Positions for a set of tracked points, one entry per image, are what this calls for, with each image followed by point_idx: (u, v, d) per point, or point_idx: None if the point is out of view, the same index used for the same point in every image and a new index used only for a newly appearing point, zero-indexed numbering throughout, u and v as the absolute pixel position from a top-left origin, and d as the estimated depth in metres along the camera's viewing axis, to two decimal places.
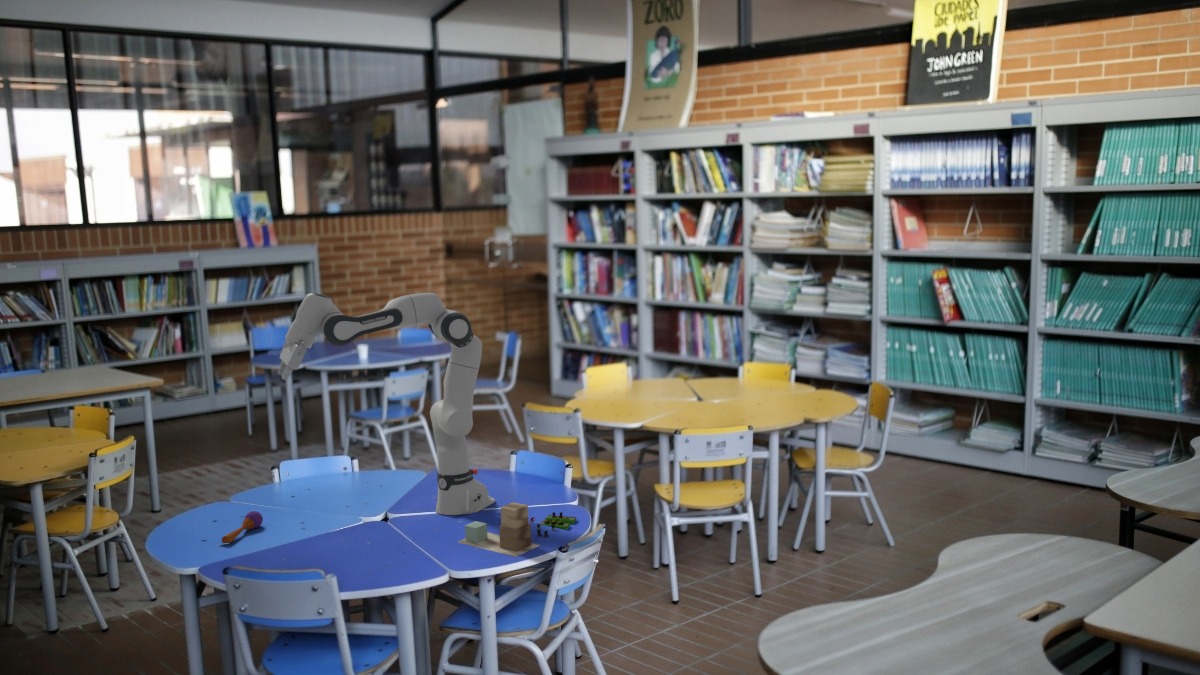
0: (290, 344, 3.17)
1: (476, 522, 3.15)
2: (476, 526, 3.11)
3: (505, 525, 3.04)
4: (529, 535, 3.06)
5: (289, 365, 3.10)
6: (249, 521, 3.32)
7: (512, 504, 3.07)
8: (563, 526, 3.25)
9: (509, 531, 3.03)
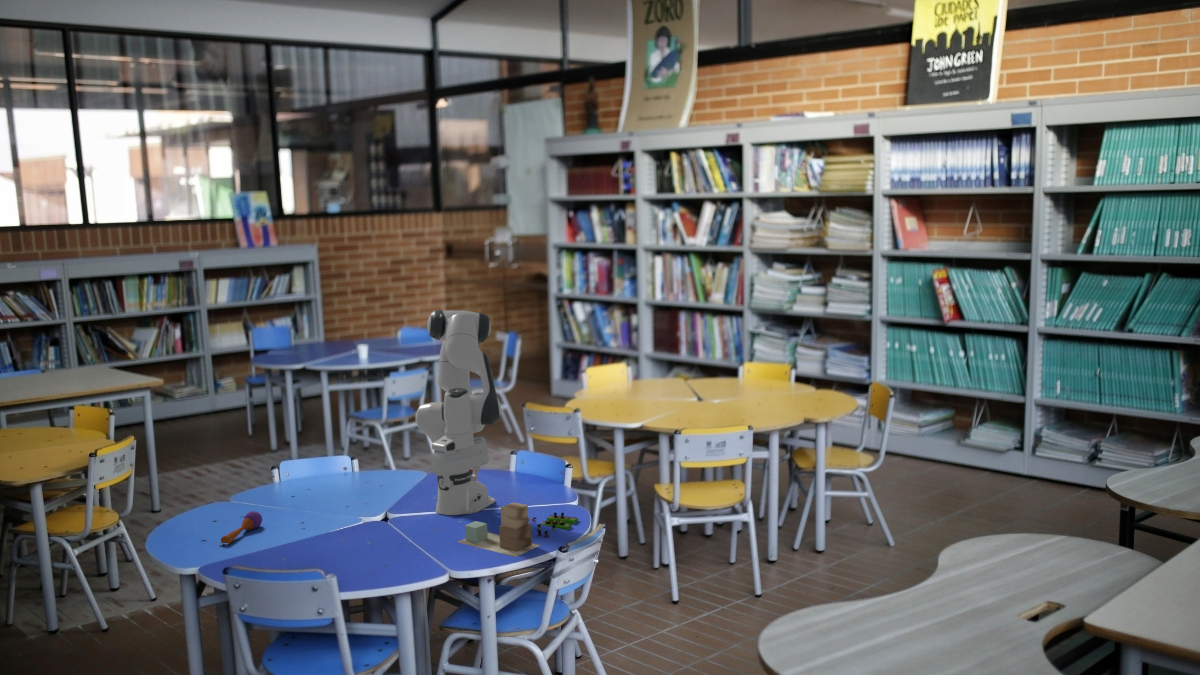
0: (469, 449, 3.07)
1: (476, 522, 3.15)
2: (476, 526, 3.11)
3: (505, 525, 3.04)
4: (529, 535, 3.06)
5: None
6: (248, 521, 3.32)
7: (512, 504, 3.07)
8: (564, 526, 3.24)
9: (509, 531, 3.03)
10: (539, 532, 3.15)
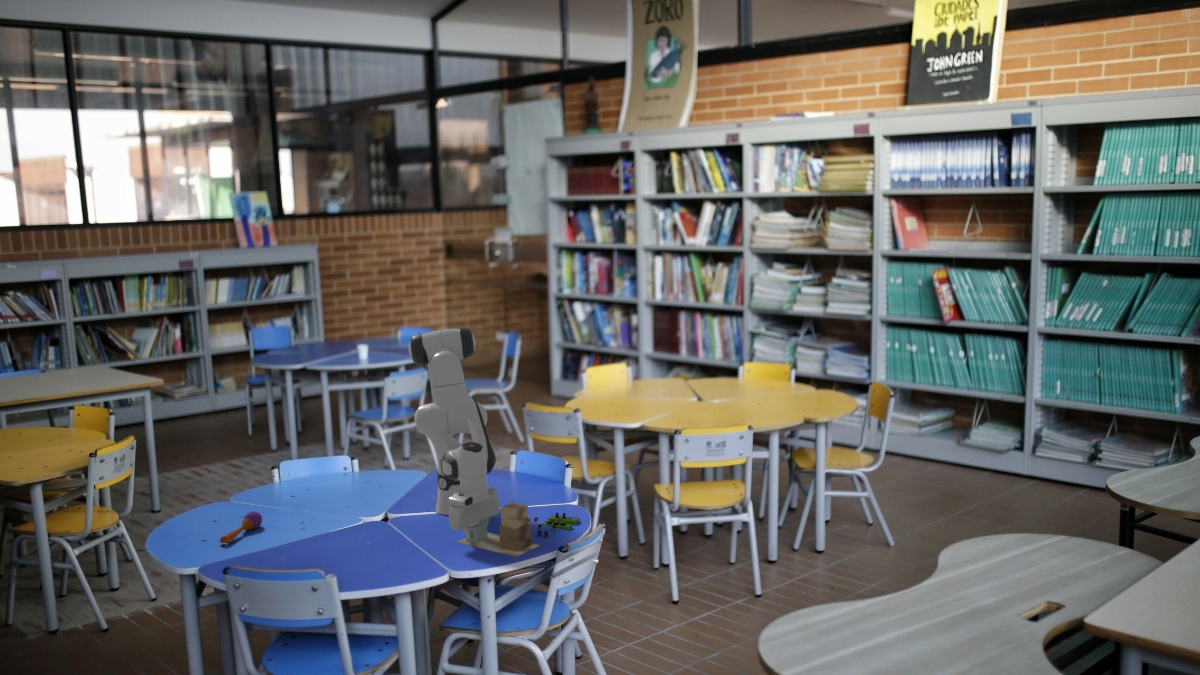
0: (484, 501, 3.13)
1: None
2: (476, 526, 3.11)
3: (505, 525, 3.04)
4: (529, 535, 3.06)
5: None
6: (248, 521, 3.32)
7: (512, 504, 3.07)
8: (565, 527, 3.24)
9: (509, 531, 3.03)
10: (539, 532, 3.15)
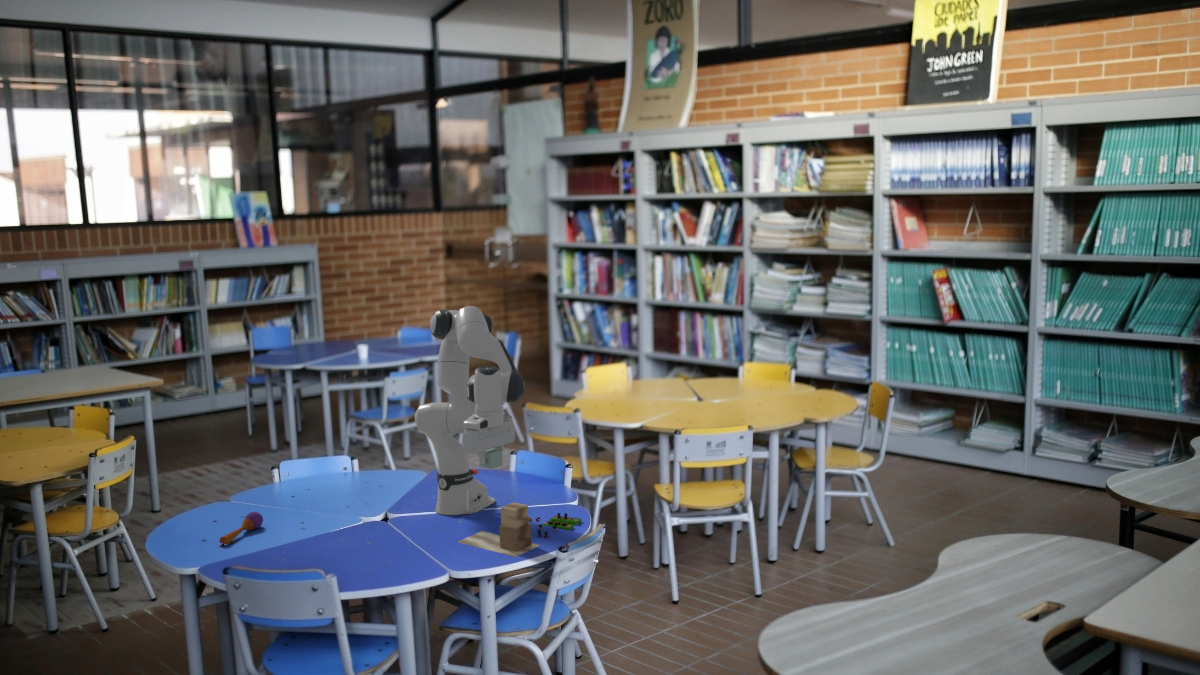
0: (499, 427, 3.06)
1: (491, 449, 3.08)
2: (491, 452, 3.04)
3: (505, 525, 3.04)
4: (529, 535, 3.06)
5: None
6: (248, 522, 3.32)
7: (512, 504, 3.07)
8: (566, 527, 3.24)
9: (509, 531, 3.03)
10: (539, 532, 3.15)
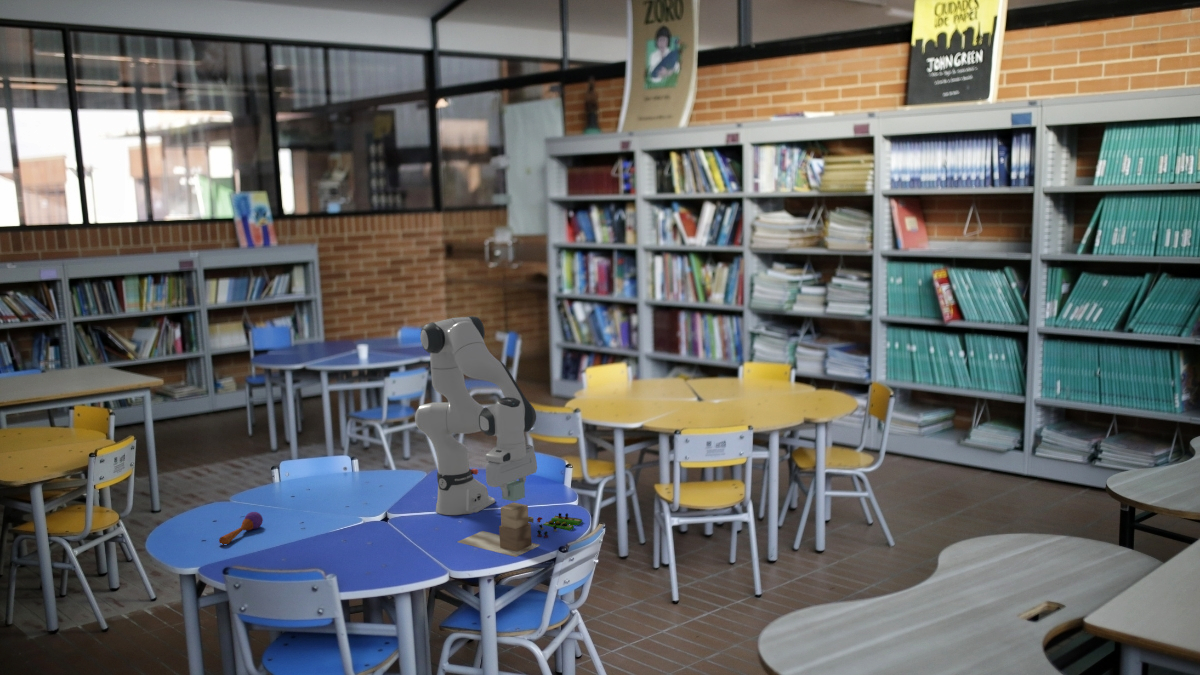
0: (521, 458, 3.03)
1: None
2: (513, 484, 3.02)
3: (505, 525, 3.04)
4: (529, 535, 3.06)
5: None
6: (248, 522, 3.32)
7: (512, 504, 3.07)
8: (566, 527, 3.23)
9: (509, 531, 3.03)
10: (539, 533, 3.15)
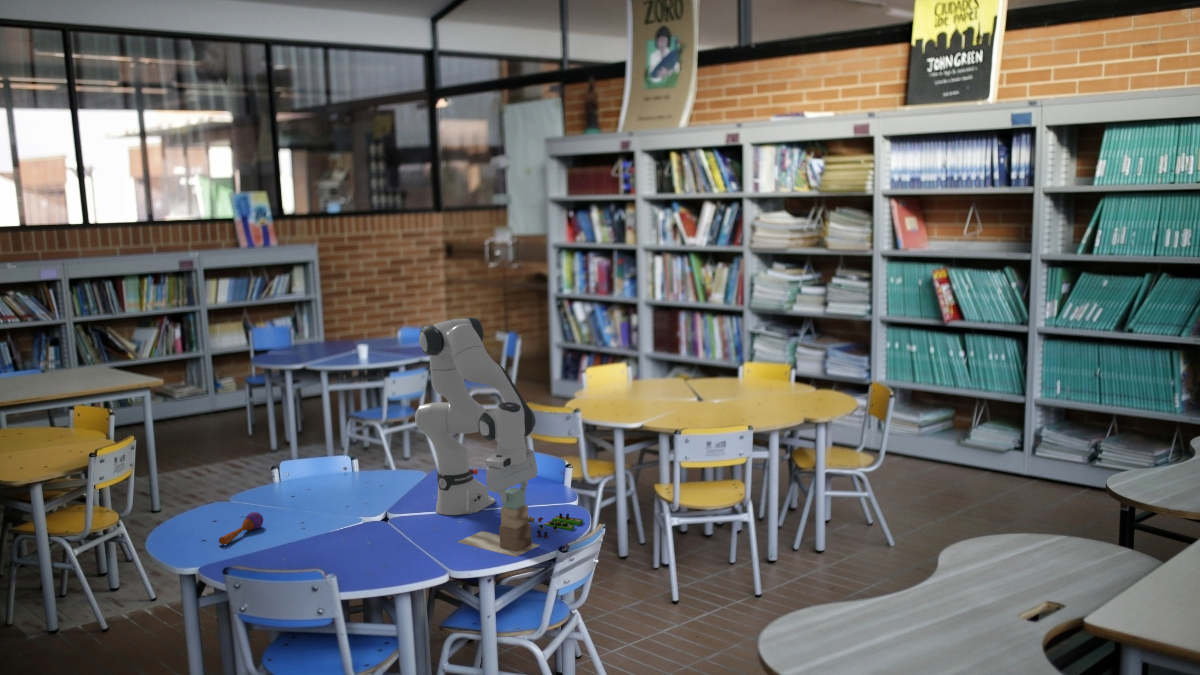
0: (522, 463, 3.03)
1: (513, 488, 3.06)
2: (514, 492, 3.02)
3: (505, 525, 3.04)
4: (529, 535, 3.06)
5: None
6: (248, 522, 3.31)
7: None
8: (566, 528, 3.23)
9: (509, 531, 3.03)
10: (539, 533, 3.15)
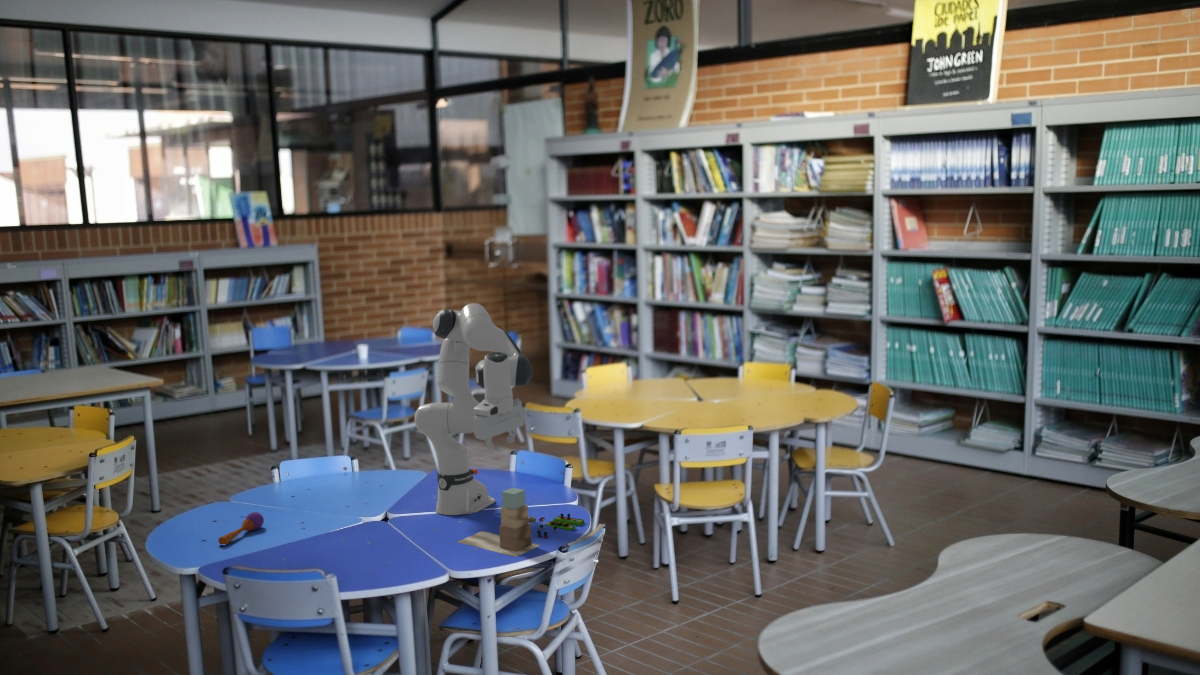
0: (509, 412, 3.10)
1: (513, 488, 3.06)
2: (514, 492, 3.02)
3: (505, 525, 3.04)
4: (529, 535, 3.06)
5: None
6: (248, 522, 3.31)
7: None
8: (567, 528, 3.23)
9: (509, 531, 3.03)
10: (539, 533, 3.15)
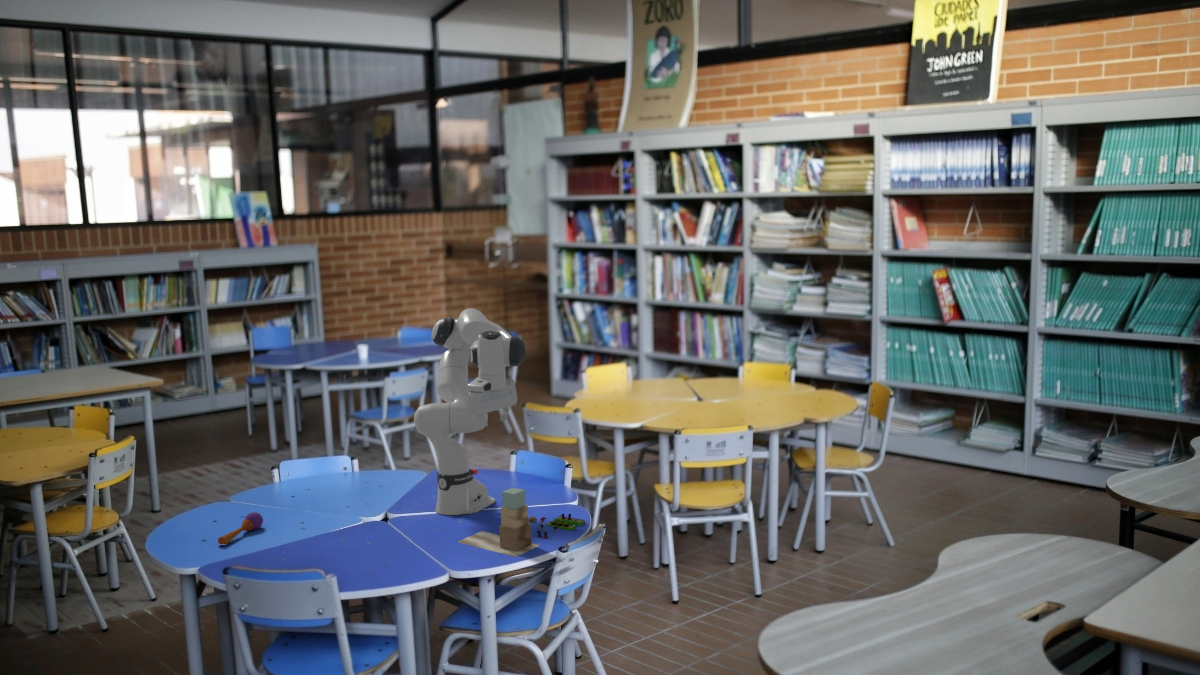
0: (502, 389, 3.18)
1: (513, 488, 3.06)
2: (514, 492, 3.02)
3: (505, 525, 3.04)
4: (529, 535, 3.06)
5: None
6: (248, 522, 3.31)
7: None
8: (567, 528, 3.23)
9: (509, 531, 3.03)
10: (539, 533, 3.14)
